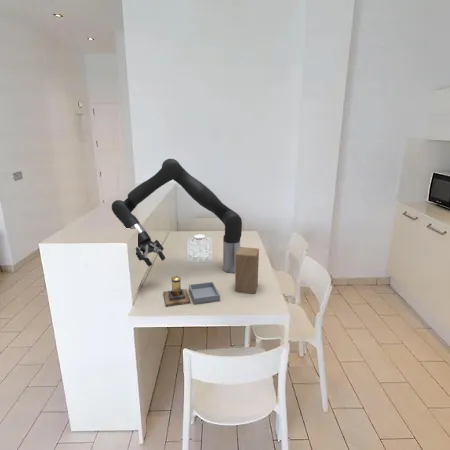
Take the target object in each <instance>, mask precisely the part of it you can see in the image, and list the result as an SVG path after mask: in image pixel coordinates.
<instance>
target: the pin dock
mask: <svg viewBox="0 0 450 450" xmlns="http://www.w3.org/2000/svg"><path fill="white" fill-rule="evenodd" d="M163 297H164V302H165V306H166V307H174V306H179V305H180V306H181V305H188V304H191V302H192V301H191V299H190V296H189V293H188V290H187V288H181V296H174V297H172V290H167V291H163Z"/></svg>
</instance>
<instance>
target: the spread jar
mask: <svg viewBox="0 0 450 450" xmlns="http://www.w3.org/2000/svg"><path fill="white" fill-rule="evenodd" d="M193 237H194V238H193V240H194V239H196V240H202V239H206V235H205V234H202V233H201V234H199V233H198V234H195V235H194V236H193Z"/></svg>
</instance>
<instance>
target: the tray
mask: <svg viewBox="0 0 450 450" xmlns="http://www.w3.org/2000/svg"><path fill="white" fill-rule="evenodd" d="M188 289H189V293H190V296H191V299H192V302H193V303H194V305H201V304H208V303H215V302H216V303H217V302H221V294H220V293H219V290H218V289H217V287H216V285H215V283H214V281H207V282H200V283H193V284H191V283H190V284H188Z"/></svg>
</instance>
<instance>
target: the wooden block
mask: <svg viewBox="0 0 450 450" xmlns="http://www.w3.org/2000/svg"><path fill="white" fill-rule="evenodd" d="M259 256H260V248H258V247H244V246H243V247H242V246H240V247H239V249H238V251H237V253H236V272H235V273H234V275H235V279H234V280H235V281H234V290H235V292H237V293H244V294H254V295H255V294H256V293H257V289H258V284H259V280H258V279H259V261H260V260H259V258H260V257H259Z"/></svg>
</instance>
